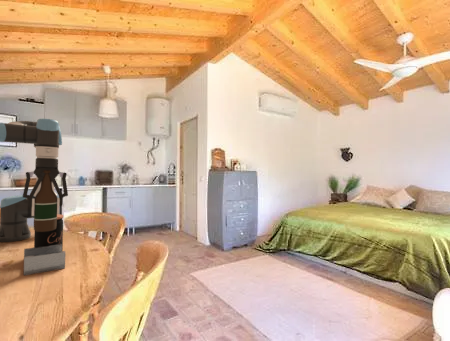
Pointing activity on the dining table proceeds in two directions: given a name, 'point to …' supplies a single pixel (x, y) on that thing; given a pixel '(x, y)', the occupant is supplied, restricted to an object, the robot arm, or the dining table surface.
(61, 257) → the bracket
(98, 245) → the dining table surface
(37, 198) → the beer bottle
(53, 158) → the robot arm
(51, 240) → the coffee jar
